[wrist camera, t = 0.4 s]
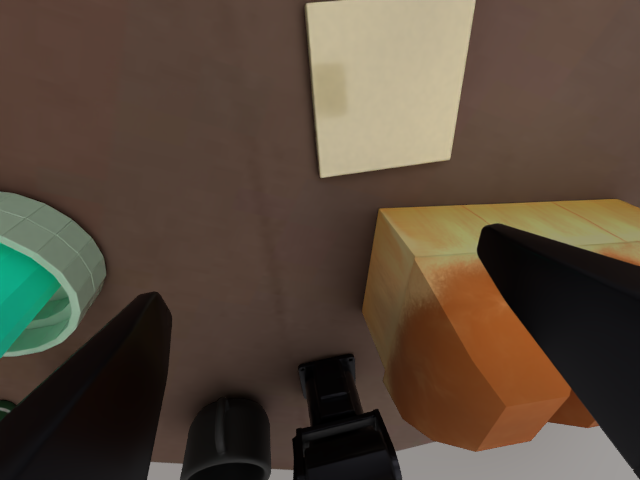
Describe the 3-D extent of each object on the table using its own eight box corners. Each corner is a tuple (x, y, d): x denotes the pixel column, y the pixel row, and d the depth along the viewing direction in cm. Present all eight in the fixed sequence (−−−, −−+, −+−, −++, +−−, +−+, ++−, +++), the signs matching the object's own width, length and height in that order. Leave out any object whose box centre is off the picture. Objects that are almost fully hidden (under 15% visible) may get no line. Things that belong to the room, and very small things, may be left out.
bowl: (131, 296, 25) (109, 339, 21) (-7, 320, 24) (-56, 369, 20) (61, 176, 19) (14, 207, 16) (-125, 200, 18) (-224, 239, 14)
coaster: (444, 156, 23) (450, 160, 23) (318, 174, 22) (320, 178, 22) (470, -9, 18) (478, -12, 17) (303, 4, 17) (305, 2, 16)
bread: (357, 314, 31) (422, 487, 19) (374, 205, 24) (492, 363, 12) (561, 293, 35) (723, 423, 23) (622, 195, 29) (896, 305, 16)
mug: (270, 424, 40) (272, 490, 34) (199, 436, 38) (188, 507, 32) (266, 369, 33) (267, 438, 27) (179, 379, 32) (162, 455, 26)
